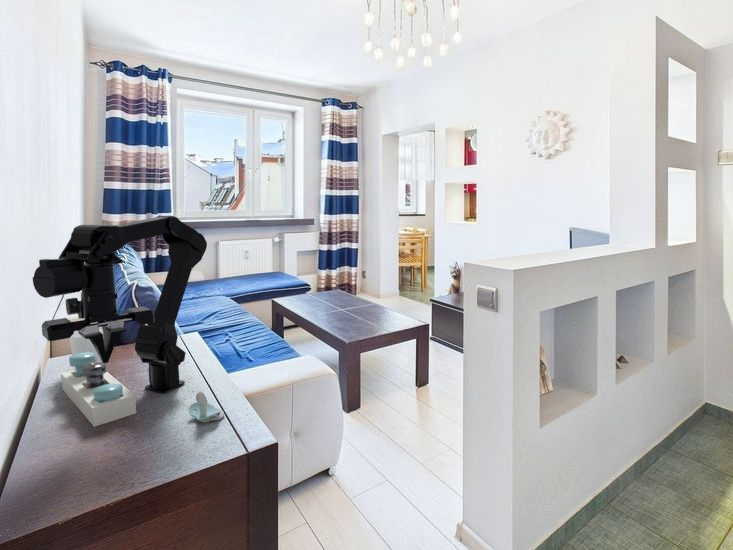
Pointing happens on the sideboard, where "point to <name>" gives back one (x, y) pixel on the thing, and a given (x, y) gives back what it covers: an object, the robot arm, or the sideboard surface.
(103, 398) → the near knob
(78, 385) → the knob housing
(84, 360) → the far knob
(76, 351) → the white cup
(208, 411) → the pacifier
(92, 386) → the pot dial
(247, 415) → the sideboard surface
